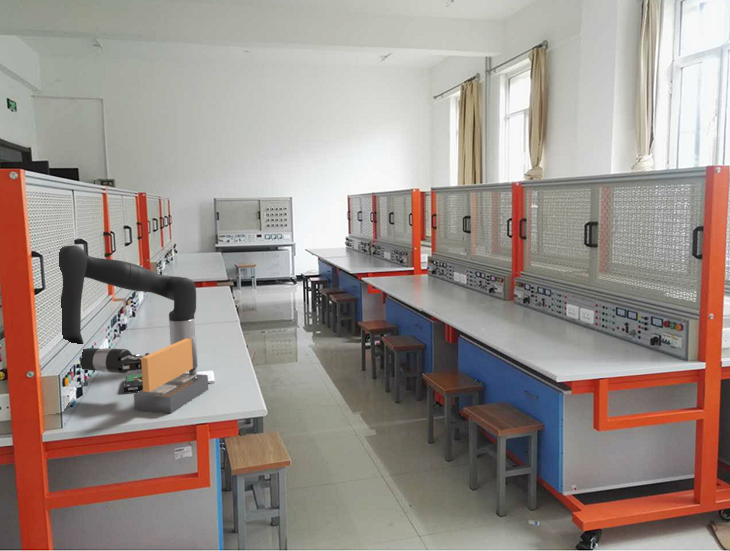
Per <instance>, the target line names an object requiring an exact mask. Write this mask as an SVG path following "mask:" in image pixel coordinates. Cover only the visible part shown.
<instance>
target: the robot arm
mask: <svg viewBox="0 0 730 551" xmlns="http://www.w3.org/2000/svg"><path fill="white" fill-rule="evenodd" d="M61 247H62V248H61V249H60V252H59V267H60V270H61V272H62V274H61V275H62V278H61V279H62V288H61V295H60V298H61V308H62V335H63V339H65V340H68V341H69V342H71V343H77V344H84V340H83V336H82V333H81V327H82V326H81V325H82V323H81V322H82V319H81V317H82V314H81V311H82V298H83V289H84V283H85V278H86V279H91V280H94V281H97V282H100V283H103V284H106V285H110V286H112V287H116V288H120V289H125V290H128V291H134V292H142V293H143V292H144V293H145V292H146V293H152V294H155V295H158V296H161V297H163V298H165V299H168V300H171V301H173V309H172V310H170V312H169V314H168V323H169V326H168V328H169V338H170V339H169V340H170V342H169V343H170V344H169V346H170V345H172V344H174V343H177V342H179V341H181V340H184V339H186V337H196V338H197V335H196V326H195V325H196V323H195V322H196V321H195V314H196V311H197V289H196V288H197V287H196V285H195V282H194V281H193V280H192V279H190V278H187V277H182V276H172V275H165V274H160V273H156V272H153V271H152V270H150V269H148V268H146V267H144V266H141V265H138V264H135V263H131V262H128V261H124V260H118V259H110V258H102V257H101V258H99V257H94V256H91V255H87V253H86V252H85V250H84V249H83V248H81V247H80V246H77V245H66V246H65V245H64V247H63V246H61ZM63 339H62V340H63ZM84 345H85V344H84ZM197 345H198V344H196V347H197ZM149 354H150V353H149V352H146V353H144V355H142V354H141V355H140V354H138V353H135V354H134V353H133V354H132V352H131V351H130V350H128V349H126V348H111V347H108V348H107V347H106V348H98V347H97V348H96V347H95V348H94V347H93V348H92V347H90V348H89V347H88V348H85V349H83V352H82V358H81V365H82V369H83V370H86V371H93V372H94V371H95V372H103V373H109V374H110V373H113V374H126V373H127V372H131V371H139V370H141V371H142V363H141V358H142V357H144V356H147V355H149Z"/></svg>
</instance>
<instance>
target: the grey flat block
mask: <svg viewBox="0 0 730 551" xmlns="http://www.w3.org/2000/svg"><path fill="white" fill-rule="evenodd" d="M206 390H207V391H209V384H208V375H200V374H189V373H184V374H182V375H180V376H178V377H176V378H174V379H173V380H171V381H169V382H167V383H165V384H163V385H161V386H160V387H158V388H156V389H154V390H152V391H150V392H143V390H141V391H139V392H134V394H133V402H134V403H133V404H134V411H135V410H137V411H136V412H147V413H150V412H152V413H161V414H169V415H171V414H172V413H174V412H176V411H177V410H179V409H180V408H182V407H184V406H185V405H187V404H188V403H190V402H192V399H193V400H195V399H196V398H198V397H199V396H201V395H203V394H204V393H205V391H206ZM207 391H206V392H207ZM203 392H204V393H203ZM200 394H201V395H200ZM197 396H198V397H197ZM195 397H196V398H195ZM194 398H195V399H194ZM189 401H190V402H189ZM187 402H188V403H187ZM186 403H187V404H186ZM184 404H185V405H184ZM183 405H184V406H183ZM181 406H182V407H181ZM178 408H179V409H178Z"/></svg>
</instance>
